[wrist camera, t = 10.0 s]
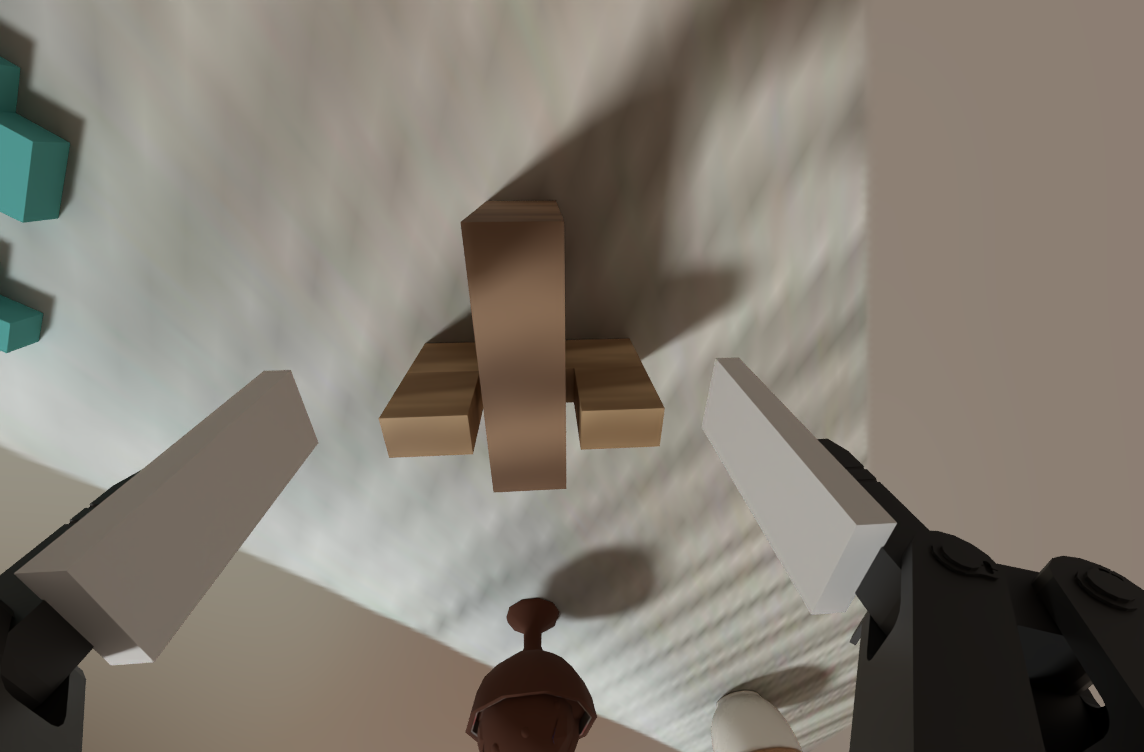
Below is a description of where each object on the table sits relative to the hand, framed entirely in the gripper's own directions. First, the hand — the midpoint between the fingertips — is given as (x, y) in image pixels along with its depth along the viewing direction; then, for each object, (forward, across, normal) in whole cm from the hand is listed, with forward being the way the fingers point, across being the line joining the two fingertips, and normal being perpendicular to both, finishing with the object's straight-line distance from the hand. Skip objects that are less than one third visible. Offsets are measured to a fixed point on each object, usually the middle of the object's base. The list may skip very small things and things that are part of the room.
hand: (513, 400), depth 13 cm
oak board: (+14, 0, -6) cm, 16 cm away
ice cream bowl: (+14, -1, -36) cm, 38 cm away
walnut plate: (+14, 0, -3) cm, 15 cm away
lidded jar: (+14, +26, -59) cm, 66 cm away
